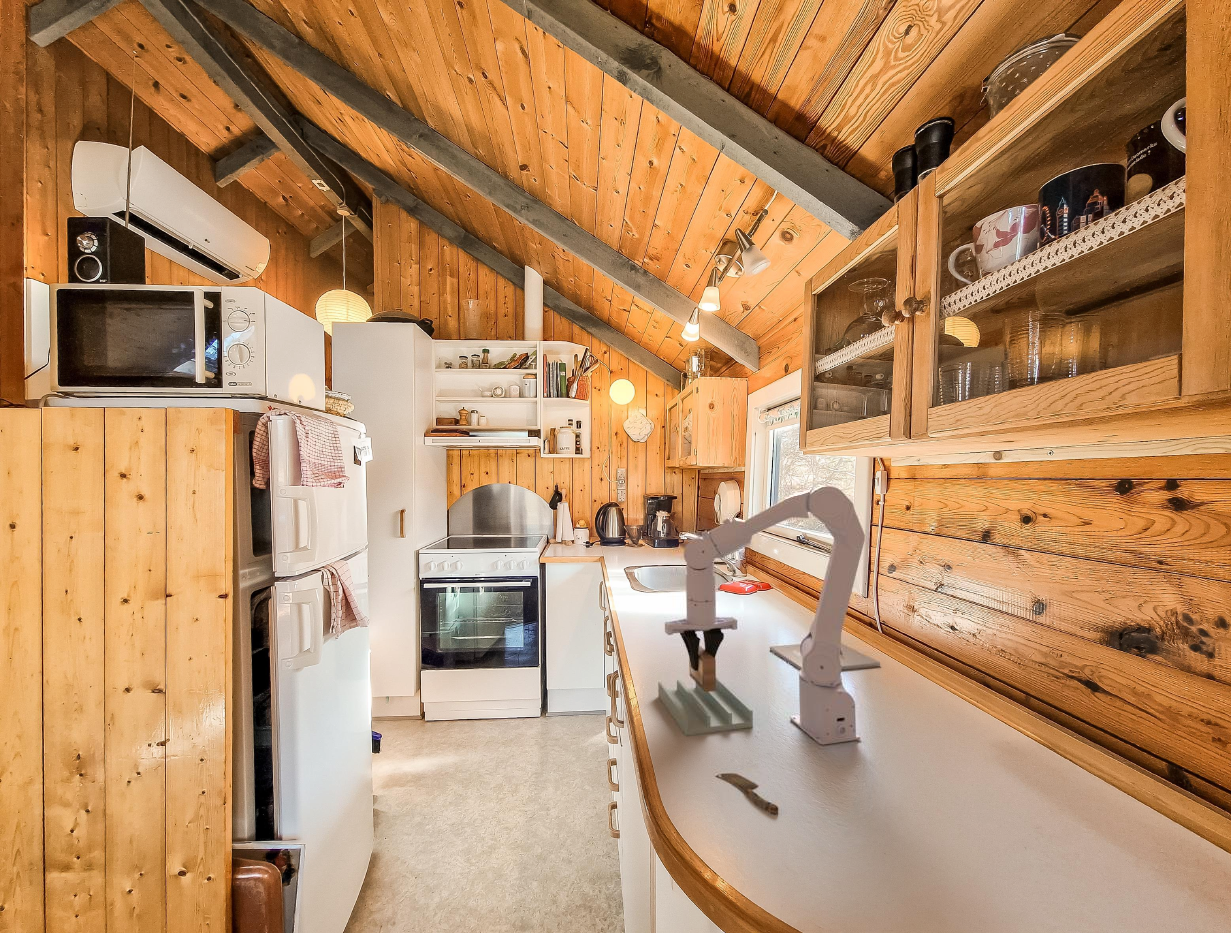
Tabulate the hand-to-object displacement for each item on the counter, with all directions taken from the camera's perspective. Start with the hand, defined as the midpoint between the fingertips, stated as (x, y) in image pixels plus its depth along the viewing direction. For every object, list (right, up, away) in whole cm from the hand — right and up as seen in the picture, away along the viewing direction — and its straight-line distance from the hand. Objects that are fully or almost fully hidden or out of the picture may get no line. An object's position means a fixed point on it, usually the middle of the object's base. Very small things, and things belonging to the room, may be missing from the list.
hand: (701, 668), depth 95 cm
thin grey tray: (+35, -10, +27) cm, 46 cm away
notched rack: (0, -8, 0) cm, 8 cm away
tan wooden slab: (0, -3, 0) cm, 3 cm away
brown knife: (+2, -8, -24) cm, 26 cm away
